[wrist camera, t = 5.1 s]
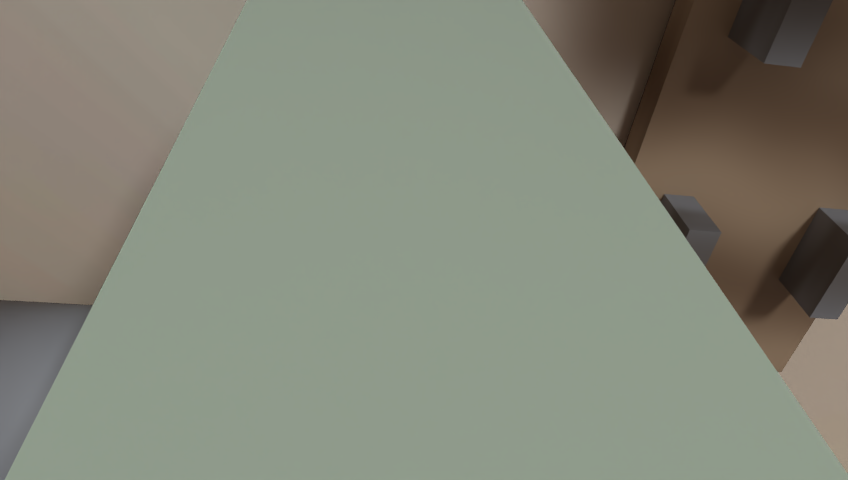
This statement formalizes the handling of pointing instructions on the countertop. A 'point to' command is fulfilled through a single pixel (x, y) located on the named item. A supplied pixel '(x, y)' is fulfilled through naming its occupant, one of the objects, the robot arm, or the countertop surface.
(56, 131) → the countertop surface
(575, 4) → the countertop surface
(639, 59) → the countertop surface
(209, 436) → the door
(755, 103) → the board
